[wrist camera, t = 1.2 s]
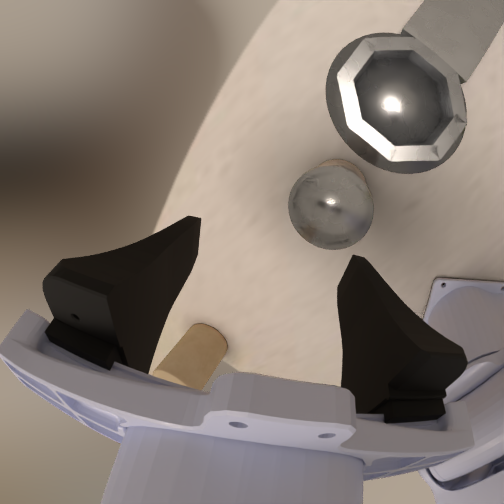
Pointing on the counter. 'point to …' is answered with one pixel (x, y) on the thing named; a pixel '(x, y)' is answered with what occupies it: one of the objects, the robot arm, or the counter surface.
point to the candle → (193, 357)
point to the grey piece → (411, 84)
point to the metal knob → (331, 205)
